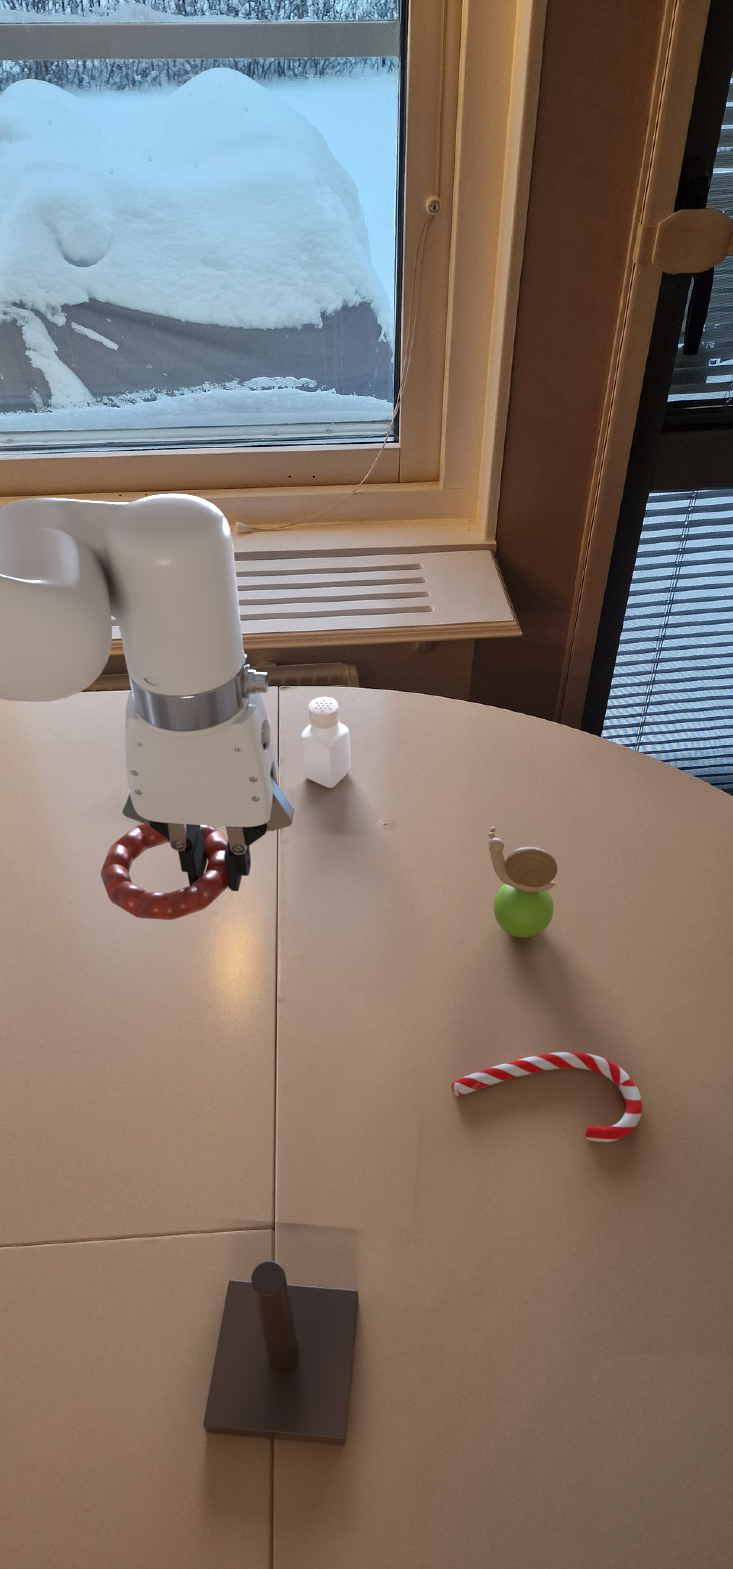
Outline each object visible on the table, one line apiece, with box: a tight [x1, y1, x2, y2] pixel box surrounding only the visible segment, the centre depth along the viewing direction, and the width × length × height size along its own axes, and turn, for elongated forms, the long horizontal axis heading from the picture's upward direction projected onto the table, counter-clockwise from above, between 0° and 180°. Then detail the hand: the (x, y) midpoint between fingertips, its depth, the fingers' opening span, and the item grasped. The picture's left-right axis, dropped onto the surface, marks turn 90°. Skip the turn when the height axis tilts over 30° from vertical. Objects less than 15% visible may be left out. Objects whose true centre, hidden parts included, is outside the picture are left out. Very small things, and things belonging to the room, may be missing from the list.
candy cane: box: [451, 1051, 643, 1143], centre depth 83 cm, size 8×1×15 cm
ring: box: [100, 823, 228, 921], centre depth 80 cm, size 10×10×2 cm
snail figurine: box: [487, 826, 559, 938], centre depth 93 cm, size 5×6×12 cm
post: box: [202, 1260, 359, 1446], centre depth 65 cm, size 9×9×14 cm
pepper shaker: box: [300, 696, 352, 789], centre depth 110 cm, size 4×4×10 cm
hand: (217, 875), depth 80 cm, fingers closed on ring, 2 cm apart
